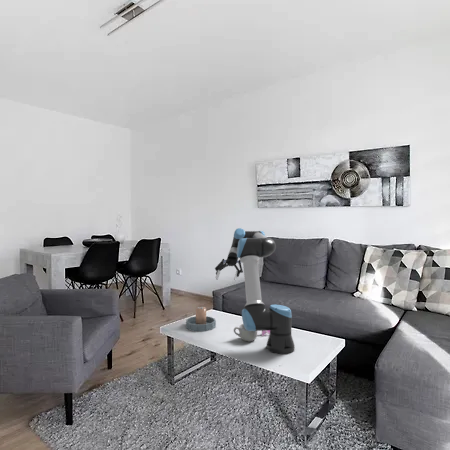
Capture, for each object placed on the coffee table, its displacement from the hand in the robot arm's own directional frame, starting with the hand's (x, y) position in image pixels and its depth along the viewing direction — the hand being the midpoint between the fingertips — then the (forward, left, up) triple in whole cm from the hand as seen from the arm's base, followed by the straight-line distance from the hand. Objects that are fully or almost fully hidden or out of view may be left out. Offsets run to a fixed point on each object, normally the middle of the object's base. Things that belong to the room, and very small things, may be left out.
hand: (225, 279), depth 231 cm
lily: (-32, +11, -30) cm, 45 cm away
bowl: (+12, +14, -30) cm, 35 cm away
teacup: (-23, +25, -30) cm, 45 cm away
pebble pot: (+12, +13, -29) cm, 34 cm away
